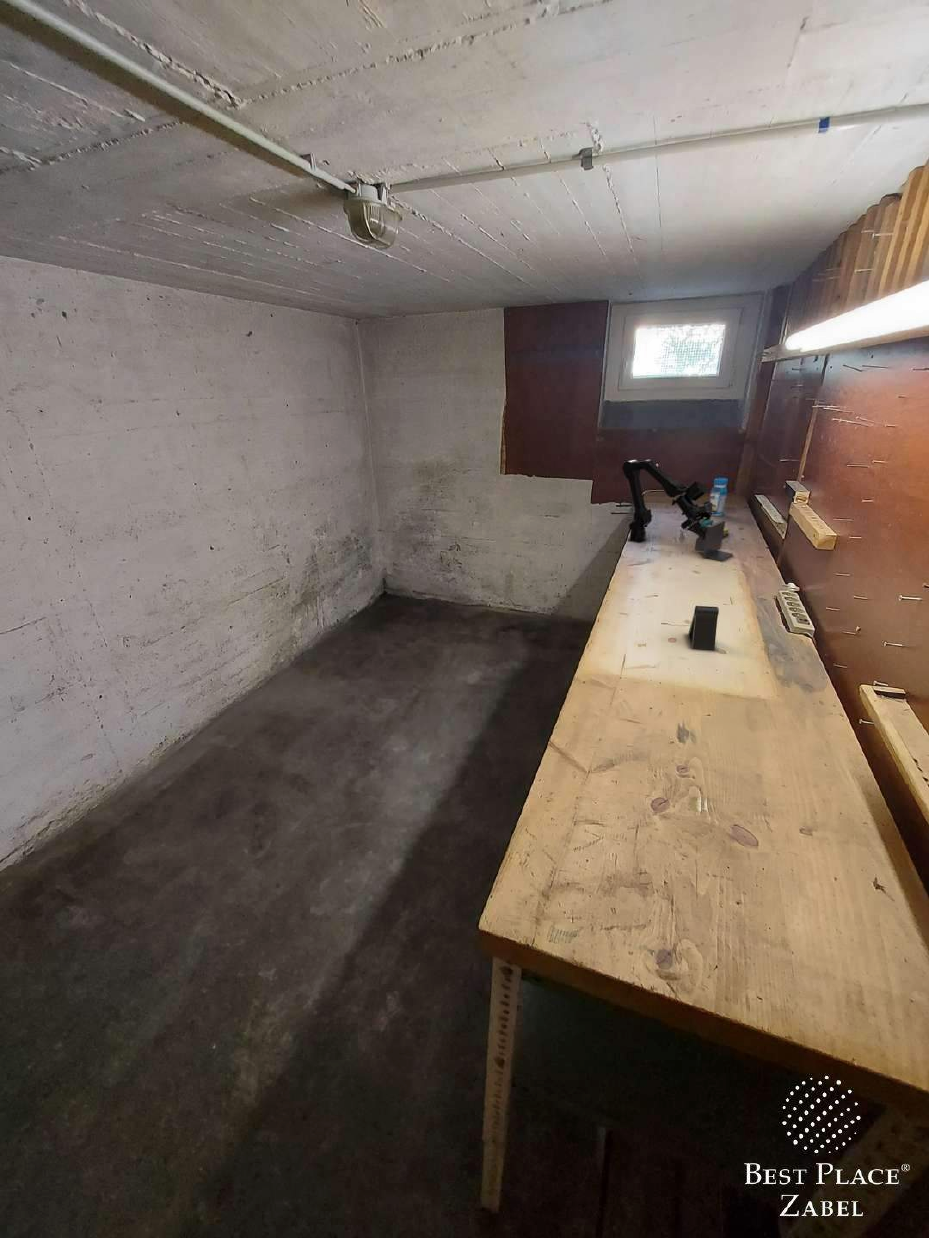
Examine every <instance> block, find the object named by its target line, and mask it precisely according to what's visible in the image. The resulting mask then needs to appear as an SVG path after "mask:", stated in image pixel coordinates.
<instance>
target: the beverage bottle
mask: <svg viewBox="0 0 929 1238" xmlns="http://www.w3.org/2000/svg"><path fill="white" fill-rule="evenodd" d="M728 481H729V480H728V478H726V477H725V478H724V477H717V478H714V481H713V485H714V486H713V487H712V488H711V490H710V495H709V501H710V502H711V503H712V504H713V506H712V509H713V510H710V511H711V512H712V513H713V515H712V516H715V517H719V516H723V515H724V509H725V504H726V499H727V496H728V495H727V493H728V489H727V486H728Z"/></svg>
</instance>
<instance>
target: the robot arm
mask: <svg viewBox="0 0 929 1238" xmlns="http://www.w3.org/2000/svg"><path fill="white" fill-rule="evenodd" d="M621 470H622V472H623V476H624V477H625V478H626V479H627V481H628V483H629V487H630V493H631V498H632V502H633V506H634V513H633V521H632V522H630V523H629V524H628V529H629V530H630V533H629V538H628V541H630V542H636V543H642V542H644V541H645V540H647V538H646V536H647V531H646V528H647V527H648V526H649V525H650V524H651V522H652V520H653V519H652V518H653V515H652V509H651V508H649V509H648V508H647V507H646V503H645V499H644V494H643V490H642V489H643V488H642V485H641V481H640V477H641V476H640V475H641V470H644V471H646V472H647V474H649V476H651V477H652V478H653V479H654V480H655V481H656V482H657V483H658V484H660V485H661V486H662V489H663V491H664V492H665V494H666V495H667V497H669V498H672V502H671V506H675V505H677V506H678V507H679V509H680V510H681V512H682V513H681V515H682V516H685V517H686V519H685V520H684V521H683V522H682V523H681V524H680V527H681V529H682V530H686V531H690V532H691V533H693V534H695V535H697V536H698V537H699V536H701V537H705V535H704V533H703V531H702V529H701V527H700V525H701V522H703V521H705V520H708V519H710V520H711V518H712V516H714V515H713V513H712V512H711V511H710V510H713V509H712V506H713V504H712V503H711V502H710V500H708V501H704V502H703V504H702V505H699V504H697V503H694V501H698V500H699V499H700V498H702V497H703V496H704V495H706V494H707V493H708V488H707V487H706V486H705V485H704V484H703V483H701V482H700V481H698V480H696V481H694V482H693V483H692V484H691V485H690V486H686V485H684V484H683V483H682V482H680V481H679V480H677V479H674V478H672V477H670V476H669V475H668V474H667V473H666V472H665V471H663V470H662V469H661V468H660V467H659V466H658V465H656V464H655V462H654V461H653V460H652V459H645V460H639V461H638V460H637V459H631V460H627V461H625V462H623V464H622V466H621ZM676 497H677V498H676Z"/></svg>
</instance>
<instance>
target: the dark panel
mask: <svg viewBox="0 0 929 1238" xmlns="http://www.w3.org/2000/svg"><path fill="white" fill-rule="evenodd" d="M714 523H715V524H713V525H708V526H706V528H707V533H706V539H705V545H704V550H703V552H702V557H704V559H709V560H714V561H717V562H724V561H726V560H728V559H730V558H731V557H733V555H734V553H732V552H727V551H722V550H721V547H722V542H723V538H724V537H723V531H724V526H726V520H720V521H717V522H714Z"/></svg>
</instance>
